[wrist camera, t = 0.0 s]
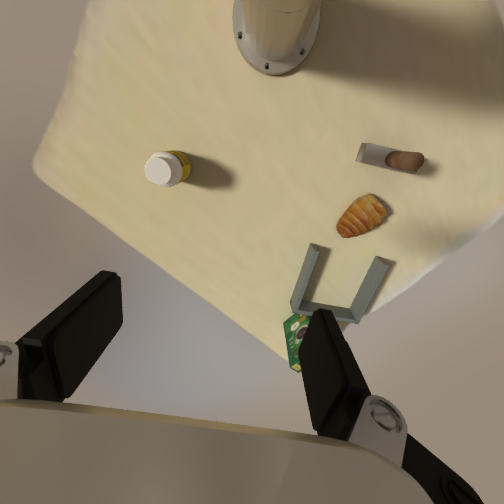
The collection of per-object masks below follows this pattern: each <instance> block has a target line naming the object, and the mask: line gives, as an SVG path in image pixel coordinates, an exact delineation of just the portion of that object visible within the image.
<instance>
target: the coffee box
mask: <svg viewBox="0 0 504 504" xmlns="http://www.w3.org/2000/svg"><path fill="white" fill-rule="evenodd" d="M311 317H312V316H308V315H303V314H297V313H295V314H294V315H293V316H291V317H290V318H289V319H288V320H287V321H285V322H284V323H283V325H284V331H285V338H286V345H287V351H288V358H289V365H290V368H291V369H293V370H295V371H296V372H301V367H300V362H299V357H298V349H299V346H300V344H301V341H302V339H303V336H304V334H305V332H306V329H307V327H308V324H309V322H310V319H311Z"/></svg>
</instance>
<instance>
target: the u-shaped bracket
mask: <svg viewBox="0 0 504 504" xmlns="http://www.w3.org/2000/svg"><path fill="white" fill-rule="evenodd" d="M318 255H319V251H318V249H317V247H316V245H315V244H312V243H310V245H309V248H308V251H307V254H306V257H305V260H304V263H303V266H302V269H301V271H300V274H299V277H298V280H297V283H296V286H295V289H294V292H293V295H292V298H291V300H290V304H291V308H292V313H297V314H303V315H308V316H312V314H313V312H314V311H315V310H318V309H319V308H323V309H328V310H331V311H332V312H333V315H334V317H335V319H336V320H338V321H344V322H349V323H355V324H358V323H359V322H360V320H361V318H362V316H363V314H364V312H365V310H366V309H367V307H368V305H369V303H370V301H371V299H372V297H373V295H374V294H375V292H376V290H377V288H378V286H379V284H380V282H381V280H382V279H383V277H384V275H385V273H386V271H387V269H388V267H389V265H388V264H387V263H386V262H385V261H384V260H383V259H382V258H380V257H378V256H375V258H374V260H373V262H372V264H371V266H370V268H369V270H368V272H367V274H366V276H365V278H364V280H363V282H362V285H361V287H360V289H359V291H358V293H357V295H356V297H355V299H354V301H353V303H352V305H351V307H350V309H348V308H342V307H336V306H331V305H325V304H319V303H314V302H308V301H302V298H303V295H304V292H305V290H306V287H307V284H308V282H309V279H310V276H311V273H312V271H313V268H314V265H315V263H316V260H317V257H318Z"/></svg>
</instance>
